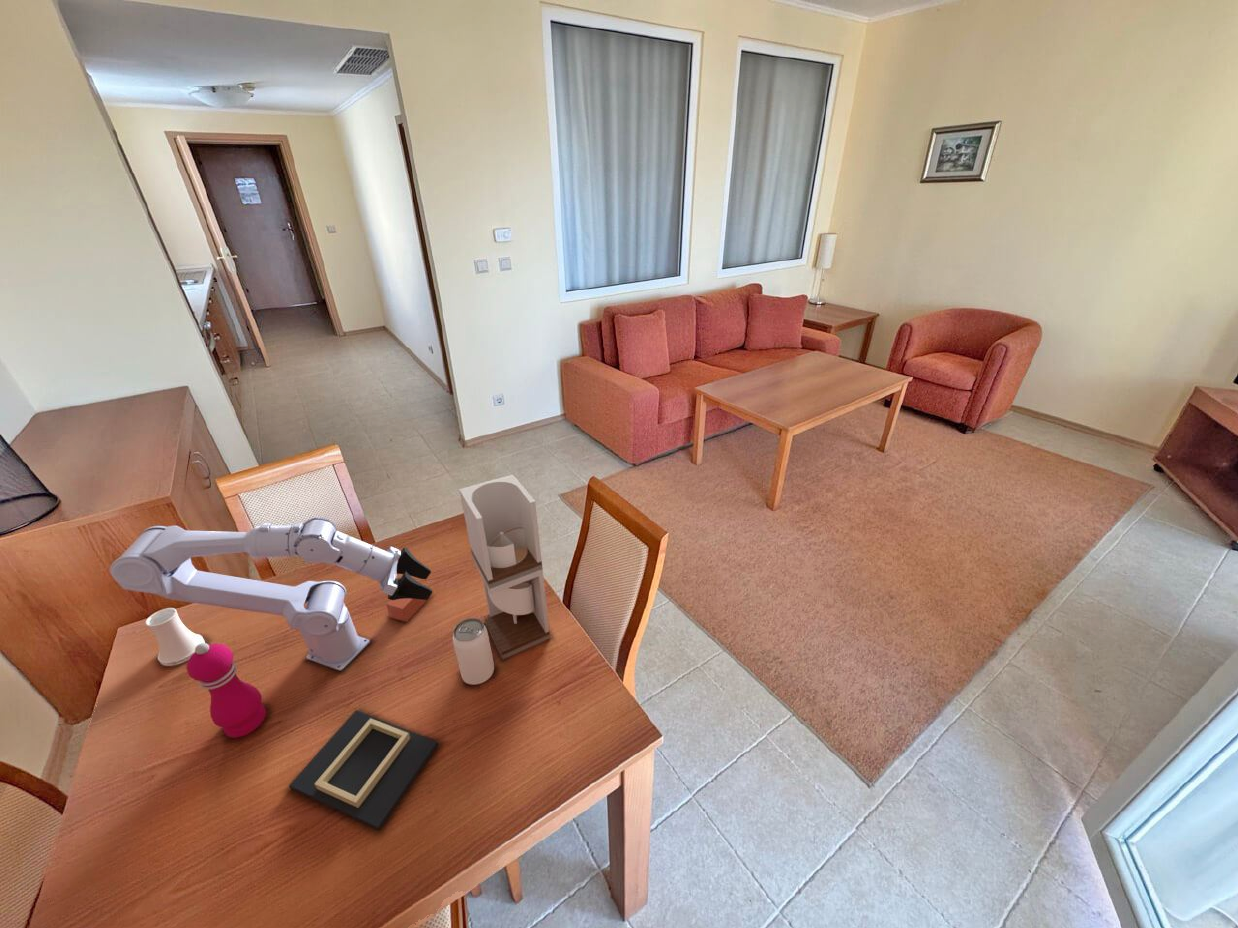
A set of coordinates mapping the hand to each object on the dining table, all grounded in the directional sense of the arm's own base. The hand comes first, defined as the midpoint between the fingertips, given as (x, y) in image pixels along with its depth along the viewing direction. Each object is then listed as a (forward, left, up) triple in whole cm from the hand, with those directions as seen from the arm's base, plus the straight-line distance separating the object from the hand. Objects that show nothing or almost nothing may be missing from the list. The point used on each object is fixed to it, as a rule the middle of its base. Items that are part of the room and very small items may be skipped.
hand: (429, 584), depth 102 cm
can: (+14, -6, -14) cm, 20 cm away
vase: (-48, -22, -14) cm, 55 cm away
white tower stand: (+16, +6, -14) cm, 21 cm away
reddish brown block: (-11, +4, -13) cm, 18 cm away
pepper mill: (-20, -29, -14) cm, 38 cm away
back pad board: (+7, -28, -13) cm, 32 cm away
